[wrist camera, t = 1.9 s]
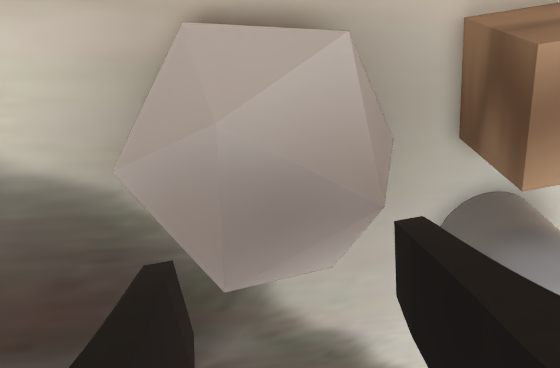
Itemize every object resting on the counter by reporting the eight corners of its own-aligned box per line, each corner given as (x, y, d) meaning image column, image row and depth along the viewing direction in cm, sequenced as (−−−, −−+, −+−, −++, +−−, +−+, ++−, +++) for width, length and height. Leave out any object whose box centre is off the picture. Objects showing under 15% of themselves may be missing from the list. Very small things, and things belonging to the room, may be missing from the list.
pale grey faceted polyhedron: (139, -12, 18) (10, 225, 13) (372, -84, 14) (309, 220, 9) (245, 129, 24) (183, 327, 19) (430, 107, 20) (409, 350, 15)
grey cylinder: (529, 269, 25) (613, 359, 20) (434, 287, 25) (493, 383, 20) (541, 183, 23) (638, 259, 18) (435, 201, 23) (502, 284, 18)
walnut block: (570, 118, 22) (660, 166, 17) (458, 137, 22) (522, 191, 17) (587, -3, 19) (698, 18, 15) (463, 17, 19) (538, 44, 15)
